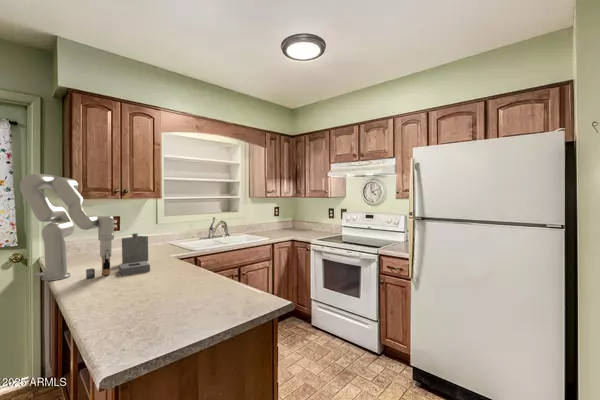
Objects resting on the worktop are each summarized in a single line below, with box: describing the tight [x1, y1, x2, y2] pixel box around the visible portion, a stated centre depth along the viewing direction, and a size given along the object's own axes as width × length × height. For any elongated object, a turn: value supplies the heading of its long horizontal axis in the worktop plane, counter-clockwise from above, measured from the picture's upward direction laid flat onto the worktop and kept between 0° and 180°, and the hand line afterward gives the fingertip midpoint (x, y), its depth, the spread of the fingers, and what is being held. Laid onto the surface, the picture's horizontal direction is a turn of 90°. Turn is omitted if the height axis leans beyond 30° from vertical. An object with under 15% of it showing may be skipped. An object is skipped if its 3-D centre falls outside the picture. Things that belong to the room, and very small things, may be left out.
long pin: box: [101, 256, 111, 276], centre depth 170 cm, size 4×4×12 cm
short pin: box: [85, 267, 96, 280], centre depth 165 cm, size 4×4×5 cm
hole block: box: [118, 261, 151, 276], centre depth 179 cm, size 15×12×4 cm
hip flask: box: [121, 232, 149, 264], centre depth 201 cm, size 16×4×20 cm, turn 127°
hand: (106, 267), depth 170 cm, fingers closed on long pin, 4 cm apart
